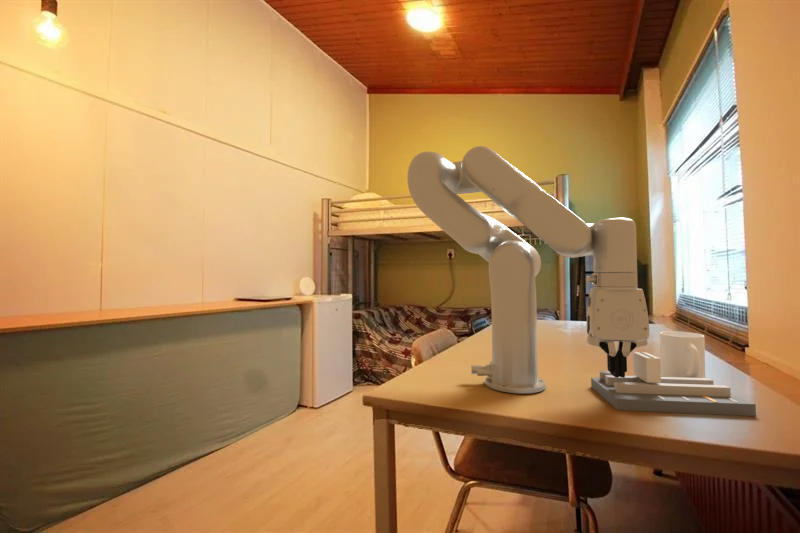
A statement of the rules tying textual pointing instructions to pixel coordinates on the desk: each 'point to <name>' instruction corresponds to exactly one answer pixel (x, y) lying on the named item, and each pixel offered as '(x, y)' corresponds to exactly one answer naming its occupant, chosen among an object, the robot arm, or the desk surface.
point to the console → (671, 395)
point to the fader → (647, 368)
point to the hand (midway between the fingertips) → (617, 375)
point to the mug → (682, 354)
